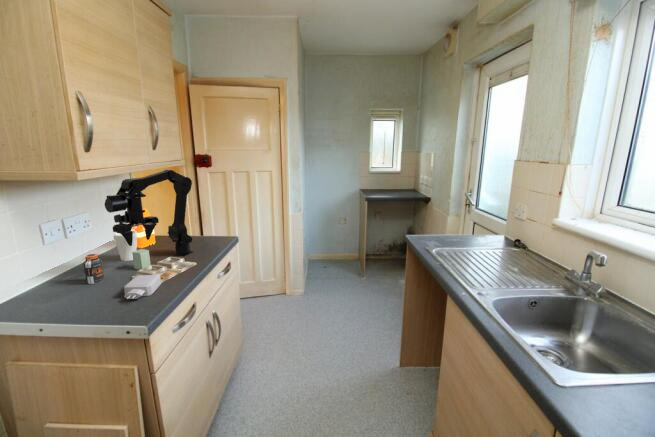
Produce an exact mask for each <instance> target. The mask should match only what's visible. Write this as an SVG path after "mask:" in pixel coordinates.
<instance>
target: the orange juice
mask: <svg viewBox="0 0 655 437" xmlns="http://www.w3.org/2000/svg"><path fill="white" fill-rule="evenodd" d="M143 210H145V212H144V213H143V216H144V217H147V216H151V214H150V212H149V211H148V209H147V208H143ZM134 225H135V224H134ZM131 230H132V231H137V248H138V249H144V248H146V247H149V245H150V246H153V245H155V243H156V235H155V229H154V230H153V232H152V234H151V237H150V239H149V240H147V239H146V234H145V228H144V227H143V225H139V226H136V227H132V229H131ZM152 244H153V245H152Z"/></svg>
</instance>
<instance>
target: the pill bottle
mask: <svg viewBox="0 0 655 437" xmlns="http://www.w3.org/2000/svg"><path fill="white" fill-rule="evenodd" d="M84 257H85V259H84V261H83V263H82V266H83V270H84V271H83V272H84V277H85V281H86V284H88V285H95V284H96V285H97V284H98V283H102V282H103V281H104V280H105V274H104V267H103V261H102V259H101V258H99V256H98V253H90V254H87V255H86V254H85V256H84Z"/></svg>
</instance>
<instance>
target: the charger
mask: <svg viewBox="0 0 655 437" xmlns="http://www.w3.org/2000/svg"><path fill="white" fill-rule="evenodd" d="M161 285H162V283H161V279H160V276H159V275H138V276H136V277H135V278H131V280H130V281H129V282H127V283H126V284H125V285H124V287H123V290H124V296H123V297H124V298H126V300H136V299H139V298H141V297H149V296H152V295H153V293H154V292H156V290H157V289H158V288H159V287H160V286H161Z"/></svg>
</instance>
